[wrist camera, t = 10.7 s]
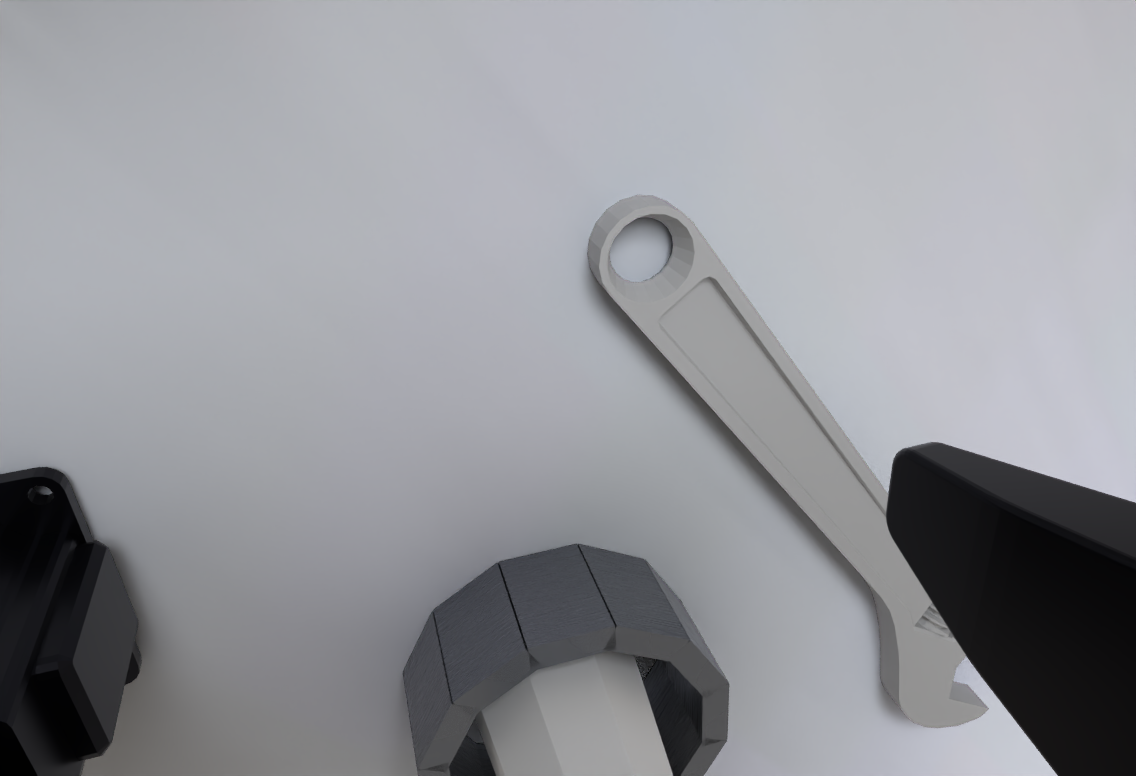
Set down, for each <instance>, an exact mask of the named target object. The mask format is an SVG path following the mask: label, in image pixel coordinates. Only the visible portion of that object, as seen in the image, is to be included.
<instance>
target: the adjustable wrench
mask: <svg viewBox="0 0 1136 776" xmlns="http://www.w3.org/2000/svg"><path fill="white" fill-rule="evenodd" d="M641 217H648V218H653V219H656V220H659V221H661V222H662V223H663V224H664V225H665V226H666V227H667V228H668V230H669V232H670V233H671V235H672V240H673V247H672V253H671V255H670V258H669V260H668V262H667V264H666V265H665V266H664V267H663V268H662V270H661V271H660V272H659V273H658V274H656V275H655V276H653V277H652V278H650V279H648V280H645V281H642V282H631V281H628V280H625V279H623V278H622V277H620V276H619V275H618V274H617V273H616V272H615V270H614V269H613V267H612V265H611V261H610V256H609V253H610V248H611V245H612V243H613V241H614V239H615V237H616V236H617V235H618V234H619V232H620V231H621V230H622V229H623V228H624V226H626V225H627V224H629V223H630V222H632V221H633V220H635V219H637V218H641ZM587 255H588V259H589V264H590V269H591V271H592V273H593V274H594V276H595V277H596V279H597V281H598V282H599V283H600V285H601V286H602V287H603V288H604V289H605V290H606V291H607V293H608V294H609V295H610V296H611V297H612V298H613V299H614V300H615V302H616V303H617V304H618V305H619V306H620V307H621V308H622V309H623V310H624V312H625V313H626V314H627V315H628V316H629V317H630V318H631V319H632V320H633V322H634V323H635V324H636V325H637V326H638V327H639V328H640V329H641V331H642V332H643V333H644V334H645V335H646V336H647V337H648V338H649V339H650V341H651V342H652V343H653V344H654V345H655V346H656V347H657V348H658V349H659V351H660V352H661V353H662V354H663V355H664V356H665V357H666V358H667V359H668V361H669V362H670V363H671V364H672V365H673V366H674V367H675V368H676V369H677V371H678V372H679V373H680V374H681V375H682V376H683V377H684V378H685V379H686V381H687V382H688V383H689V384H690V385H691V386H692V387H693V388H694V390H695V391H696V392H697V393H698V394H699V395H700V396H701V397H702V398H703V400H704V401H705V402H706V403H707V404H708V405H709V406H710V407H711V408H712V410H713V411H714V412H715V413H716V414H717V415H718V416H719V417H720V418H721V420H722V421H723V422H724V423H725V424H726V425H727V426H728V427H729V428H730V430H731V431H732V432H733V433H734V434H735V435H736V436H737V437H738V439H739V440H740V441H741V442H742V443H743V444H744V445H745V446H746V447H747V449H748V450H749V451H750V452H751V453H752V454H753V455H754V456H755V457H756V459H757V460H758V461H759V462H760V463H761V464H762V465H763V466H764V467H765V469H766V470H767V471H768V472H769V473H770V474H771V475H772V476H773V477H774V479H775V480H776V481H777V482H778V483H779V484H780V485H781V486H782V487H783V489H784V490H785V491H786V492H787V493H788V494H789V495H790V496H791V498H792V499H793V500H794V501H795V502H796V503H797V504H798V505H799V506H800V508H801V509H802V510H803V511H804V512H805V513H806V514H807V515H808V516H809V518H810V519H811V520H812V521H813V522H814V523H815V524H816V525H817V526H818V528H819V529H820V530H821V531H822V532H823V533H824V534H825V535H826V536H827V538H828V539H829V540H830V541H831V542H832V543H833V544H834V545H835V547H836V548H837V549H838V550H839V551H840V552H841V553H842V554H843V555H844V557H845V558H846V559H847V560H848V561H849V562H850V563H851V564H852V565H853V567H854V568H855V569H856V570H857V571H858V572H859V573H860V574H861V575H862V577H863V578H864V579H865V581H866V583H867V584H868V586H869V587H870V589H871V592H872V595H873V598H874V601H875V605H876V611H877V618H878V624H879V633H880V678H881V681H882V684H883V686H884V688H885V690H886V691H887V692H888V694H889V695H890V696H891V697H892V699H893V700H894V701H895V702H896V704H897V705H898V706H899V708H900V709H901V710H902V711H903V713H904V714H905V715H906V717H907V718H908V719H909V720H911V721H912V722H913V723H916V724H919V725H921V726H924V727H930V728H943V727H951V726H958V725H961V724H964V723H966V722H969V721H972V720H975V719H977V718H979V717H980V716H982V715H983V714H984V713H985V712H986V711H987V710H988V709H989V708H988V707H987V706H986V705H985V704H984V703H983V702H982V700H981V699H980V698H979V697H978V696H977V695H976V694H975V693H974V691H973V690H972V689H971V688H970V687H969V686H968V685H966V684H962V683H958V682H954V681H953V679H954V675H955V670H956V668H957V666H958V665H959V664H960V663H961V662H962V660H963V659H964V658H965V657H966V655H965V653H964V652H963V650H962V649H961V647H960V646H959V644H958V643H957V641H956V640H955V638H954V637H953V635H952V633H951V632H950V630H949V629H948V627H947V625H946V624H945V622H944V621H943V619H942V617H941V616H940V614H939V613H938V611H937V609H936V608H935V606H934V605H933V603H932V601H931V600H930V598H929V597H928V595H927V593H926V592H925V590H924V589H923V587H922V585H921V584H920V582H919V581H918V579H917V577H916V576H915V574H914V573H913V571H912V569H911V568H910V566H909V565H908V563H907V561H906V560H905V558H904V557H903V555H902V553H901V552H900V550H899V549H898V547H897V545H896V544H895V542H894V541H893V539H892V537H891V535H890V532H889V530H888V526H887V522H886V508H887V501H888V493H887V492H886V490H885V489H884V488H883V486H882V485H881V483H880V482H879V481H878V479H877V478H876V476H875V475H874V474H873V472H872V471H871V470H870V468H869V467H868V465H867V464H866V463H865V461H864V460H863V458H862V457H861V456H860V454H859V453H858V451H857V450H856V449H855V447H854V446H853V444H852V443H851V442H850V440H849V439H848V437H847V436H846V435H845V433H844V432H843V430H842V429H841V428H840V426H839V425H838V423H837V422H836V421H835V419H834V418H833V417H832V415H831V414H830V412H829V411H828V410H827V408H826V407H825V405H824V404H823V403H822V401H821V400H820V398H819V397H818V396H817V394H816V393H815V391H814V390H813V389H812V387H811V386H810V384H809V383H808V382H807V380H806V379H805V377H804V376H803V375H802V373H801V372H800V371H799V369H798V368H797V366H796V365H795V364H794V362H793V361H792V359H791V358H790V357H789V355H788V354H787V352H786V351H785V350H784V348H783V347H782V345H781V344H780V343H779V341H778V340H777V338H776V337H775V336H774V334H773V333H772V331H771V330H770V329H769V327H768V326H767V325H766V323H765V322H764V320H763V319H762V318H761V316H760V315H759V313H758V312H757V311H756V309H755V308H754V306H753V305H752V304H751V302H750V301H749V299H748V298H747V297H746V295H745V294H744V292H743V291H742V290H741V288H740V287H739V285H738V284H737V283H736V281H735V280H734V279H733V277H732V276H731V274H730V273H729V272H728V270H727V269H726V267H725V266H724V265H723V263H722V262H721V260H720V259H719V258H718V256H717V255H716V253H715V252H714V251H713V249H712V248H711V246H710V245H709V244H708V242H707V241H706V239H705V238H704V237H703V235H702V234H701V233H700V231H699V230H698V228H697V227H696V226H695V224H694V223H693V222H692V221H691V220H690V219H689V218H688V217H687V216H686V215H685V214H684V213H682V212H681V211H680V210H678V209H677V208H676V207H674V206H673V205H671V204H670V203H669V202H667V201H665V200H663V199H660V198H658V197H655V196H651V195H635V196H632V197H629V198H625V199H622V200H620V201H619V202H617V203H616V204H614V205H613V206H611V207H610V208H608V209H607V210H606V211H605V212H604V213H603V215H602V216H601V217H600V218H599V219H598V221H597V222H596V223H595V226H594V228H593V230H592V233H591V235H590V237H589V244H588V253H587Z"/></svg>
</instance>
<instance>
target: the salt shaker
mask: <svg viewBox="0 0 1136 776" xmlns="http://www.w3.org/2000/svg"><path fill="white" fill-rule="evenodd" d="M475 720H476V723H477V725H478V728H479V731H480V733H481V736H482V739H483V741H484V744H485V747H486V750H487V752H488V755H489V758H490V760H491V763H492V766H493V768H494V771H495V774H496V776H673V773H672V770H671V767H670V764H669V761H668V758H667V755H666V752H665V749H664V746H663V743H662V739H661V736H660V733H659V730H658V727H657V724H656V721H655V718H654V715H653V712H652V709H651V706H650V703H649V699H648V696H647V693H646V690H645V687H644V684H643V681H642V678H641V675H640V672H639V669H638V666H637V663H636V659H635V656H634V655H631V654H625V653H619V652H614V651H607V652H603V653H599V654H595V655H591V656H588V657H584V658H580V659H576V660H572V661H569V662H565V663H561V664H557V665H553V666H549V667H546V668H542V669H538V670H536V671H535V672H534V673H532V674H531V675H529V676H528V677H527V678H525V679H524V680H523V681H521V682H520V683H518V684H517V685H516V686H514V687H513V688H512V689H510V690H509V691H507V692H506V693H505V694H503V695H502V696H501V697H499V698H498V699H496V700H495V701H494V702H492V703H491V704H490V705H488V706H487V707H485V708H484V709H483V710H481V711H480V712H479V713H477V715H476V717H475Z"/></svg>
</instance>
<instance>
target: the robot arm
mask: <svg viewBox="0 0 1136 776" xmlns="http://www.w3.org/2000/svg"><path fill="white" fill-rule="evenodd" d="M35 486H45V487H47V488H49V489H50V490H51V491H52V492H53V493H52V494H50V495H41V494H39V493H36V492H35V490H34V489H33V487H35ZM886 522H887V526H888V530H889V532H890V535H891V537H892V539H893V541H894V542H895V544H896V545H897V547H898V549H899V550H900V552H901V553H902V555H903V557H904V558H905V560H906V561H907V563H908V565H909V566H910V568H911V569H912V571H913V573H914V574H915V576H916V577H917V579H918V581H919V582H920V584H921V585H922V587H923V589H924V590H925V592H926V593H927V595H928V597H929V598H930V600H931V601H932V603H933V605H934V606H935V608H936V609H937V611H938V613H939V614H940V616H941V617H942V619H943V621H944V622H945V624H946V625H947V627H948V629H949V630H950V632H951V633H952V635H953V637H954V638H955V640H956V641H957V643H958V644H959V646H960V647H961V649H962V650H963V652H964V653H965V655H966V656H967V658H968V659H969V660H970V662H971V663H972V665H973V666H974V667H975V669H976V670H977V671H978V673H979V674H980V675H981V677H982V678H983V679H984V681H985V682H986V683H987V685H988V686H989V687H990V689H991V690H992V691H993V692H994V694H995V695H996V696H997V698H998V699H999V700H1000V701H1001V703H1002V704H1003V705H1004V707H1005V708H1006V709H1007V711H1008V712H1009V713H1010V714H1011V716H1012V717H1013V718H1014V720H1015V721H1016V722H1017V723H1018V725H1019V726H1020V727H1021V729H1022V730H1023V731H1024V733H1025V734H1026V735H1027V736H1028V738H1029V739H1030V740H1031V742H1032V743H1033V744H1034V745H1035V747H1036V748H1037V749H1038V751H1039V752H1040V753H1041V755H1042V756H1043V757H1044V758H1045V760H1046V761H1047V762H1048V764H1049V765H1050V766H1051V767H1052V769H1053V770H1054V771H1055V773H1056V774H1057V775H1058V776H1136V503H1135V502H1131V501H1128V500H1125V499H1122V498H1118V497H1115V496H1112V495H1109V494H1105V493H1102V492H1099V491H1096V490H1092V489H1089V488H1086V487H1083V486H1079V485H1076V484H1073V483H1070V482H1066V481H1063V480H1060V479H1057V478H1053V477H1050V476H1047V475H1044V474H1040V473H1037V472H1034V471H1031V470H1027V469H1024V468H1021V467H1017V466H1014V465H1011V464H1008V463H1004V462H1001V461H998V460H995V459H991V458H988V457H985V456H982V455H978V454H975V453H972V452H969V451H965V450H962V449H959V448H956V447H952V446H949V445H946V444H943V443H939V442H930V443H925V444H921V445H917V446H912V447H908V448H904V449H902V450H900V451H899V452H898V453H897V454H896V456H895V458H894V460H893V464H892V471H891V479H890V486H889V493H888V501H887V508H886ZM137 627H138V619H137V617H136V614H135V612H134V609H133V607H132V604H131V602H130V600H129V597H128V595H127V592H126V590H125V587H124V585H123V582H122V580H121V577H120V575H119V572H118V570H117V568H116V565H115V563H114V560H113V558H112V555H111V553H110V550H109V548H108V547H107V546H105V545H103V544H102V543H100V542H99V541H93V539H92V536H91V534H90V531H89V529H88V527H87V524H86V522H85V519H84V517H83V515H82V512H81V510H80V507H79V505H78V503H77V500H76V498H75V495H74V493H73V490H72V488H71V486H70V483H69V481H68V480H67V478H66V477H65V475H64V474H62V473H61V472H59V471H58V470H56V469H52V468H48V467H38V468H32V469H27V470H21V471H16V472H11V473H6V474H0V776H81V774H82V770H83V766H84V762H85V760H86V759H90V758H94V757H98V756H102V755H103V754H104V753H105V751H106V750H107V749H108V747H109V746H110V744H111V743H112V739H113V735H114V730H115V726H116V721H117V717H118V712H119V708H120V703H121V699H122V694H123V690H124V685H126V684H128V683H131V682H132V681H133V680H135V679H136V678H137V676H138V674H139V671H140V666H141V661H142V660H141V654H140V652H139V649H138V647H137V645H136V642H135V636H136V632H137Z"/></svg>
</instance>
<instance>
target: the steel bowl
mask: <svg viewBox="0 0 1136 776" xmlns="http://www.w3.org/2000/svg"><path fill="white" fill-rule="evenodd" d="M499 564H500V565H499ZM499 564H498V563H496V564H495V565H494V566H492V567H491V568H490V569H488V570H487V571H486V572H484V573H483V574H482V575H480V576H479V577H477V578H476V579H475V580H473V581H472V582H471V583H469V584H468V585H467V586H465V587H464V588H463V589H461V590H460V591H459V592H457V593H456V594H454V595H453V596H452V597H450V598H449V599H448V600H446V601H445V602H444V603H442V604H441V605H440V606H438V607H437V608H436V609H434V612H433V611H432V613H431V615H430V617H429V619H428V621H427V623H426V625H425V627H424V630H423V632H422V634H421V636H420V638H419V640H418V642H417V644H416V646H415V648H414V650H413V652H412V654H411V656H410V658H409V660H408V662H407V664H406V667H405V669H404V671H403V677H404V684H405V691H406V697H407V704H408V711H409V717H410V724H411V731H412V738H413V744H414V751H415V758H416V764H417V771H418V775H419V776H496V774H495V771H494V768H493V766H492V763H491V760H490V758H489V755H488V752H487V750H486V747H485V745H482V744H476V743H475V742H474V741H472V740H471V739H470V738H468V737H467V736H466V734H467V732H468V730H469V728H470V726H471V725H472V723H473V721H474V719H475V717H476V715H477V713H479V712H480V711H481V710H483V709H484V708H485V707H487V706H488V705H490V704H491V703H492V702H494V701H495V700H496V699H498V698H499V697H501V696H502V695H503V694H505V693H506V692H507V691H509V690H510V689H512V688H513V687H514V686H516V685H517V684H518V683H520V682H521V681H523V680H524V679H525V678H527V677H528V676H529V675H531V674H532V673H534V672H535V671H536V670H538V669H542V668H546V667H549V666H553V665H557V664H561V663H565V662H569V661H572V660H576V659H580V658H584V657H588V656H591V655H595V654H599V653H603V652H607V651H614V652H619V653H625V654H631V655H636V656H642V657H648V658H653V659H657V661H656V662H655V664H654V666H653V667H652V669H651V671H650V672H649V674H648V675H647V677H646V679H645V680H644V682H643V684H644V687H645V690H646V693H647V696H648V699H649V703H650V706H651V709H652V712H653V715H654V718H655V721H656V724H657V727H658V730H659V733H660V736H661V739H662V743H663V746H664V749H665V752H666V755H667V758H668V761H669V764H670V767H671V770H672V773H673V776H704V774H705V773H706V771H707V770H708V768H709V767H710V765H711V764H712V762H713V761H714V759H715V758H716V756H717V755H718V753H719V752H720V750H721V749H722V747H723V746H724V744H725V743H726V741H727V732H728V702H729V682H728V681H727V679H726V677H725V675H724V674H723V672H722V670H721V669H720V667H719V665H718V663H717V662H716V660H715V658H714V657H713V655H712V653H711V651H710V650H709V648H708V646H707V645H706V643H705V641H704V639H703V638H702V636H701V634H700V633H699V631H698V629H697V627H696V626H695V624H694V622H693V621H692V619H691V617H690V615H689V614H688V612H687V610H686V609H685V607H684V605H683V603H682V602H681V600H680V599H679V598H678V597H677V596H676V595H675V593H674V592H673V591H672V590H671V589H670V588H669V587H668V585H667V584H666V583H665V582H664V581H663V580H662V579H661V577H660V576H659V575H658V574H657V573H656V572H655V571H654V569H653V568H652V567H651V566H650V565H649V564H648V563H647V561H646V560H644V559H641V558H637V557H632V556H628V555H624V554H620V553H615V552H611V551H607V550H602V549H598V548H594V547H590V546H585V545H581V544H578V546H577V544H574V545H570V546H566V547H561V548H557V549H553V550H548V551H544V552H540V553H535V554H531V555H527V556H523V557H518V558H514V559H510V560H505V561H501V562H499Z"/></svg>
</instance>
